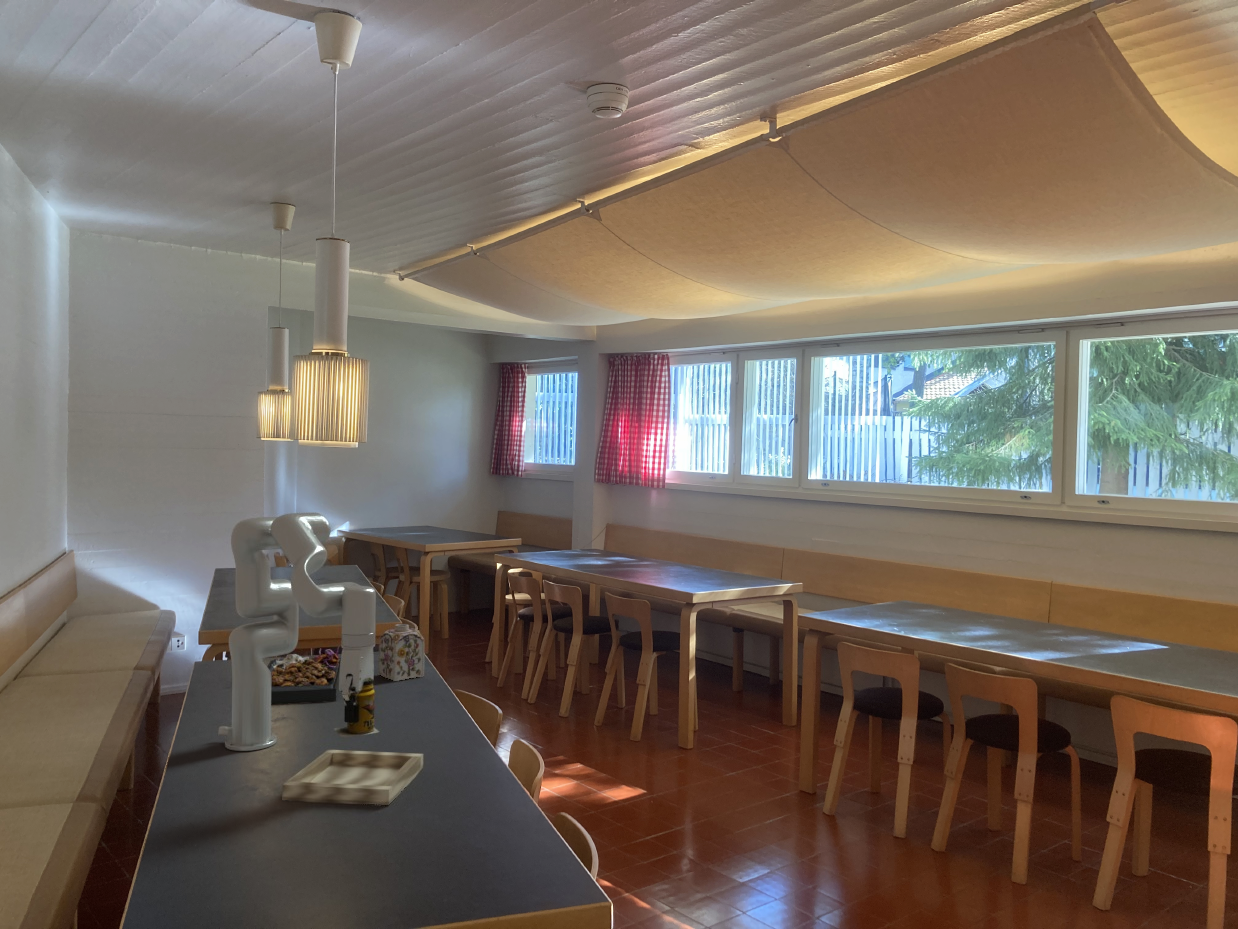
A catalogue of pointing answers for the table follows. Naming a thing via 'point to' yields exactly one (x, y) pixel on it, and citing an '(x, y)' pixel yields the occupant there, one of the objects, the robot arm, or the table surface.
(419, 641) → the decorative jar
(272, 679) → the food platter
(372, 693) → the condiment
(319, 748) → the table surface
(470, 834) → the table surface
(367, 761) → the tray
